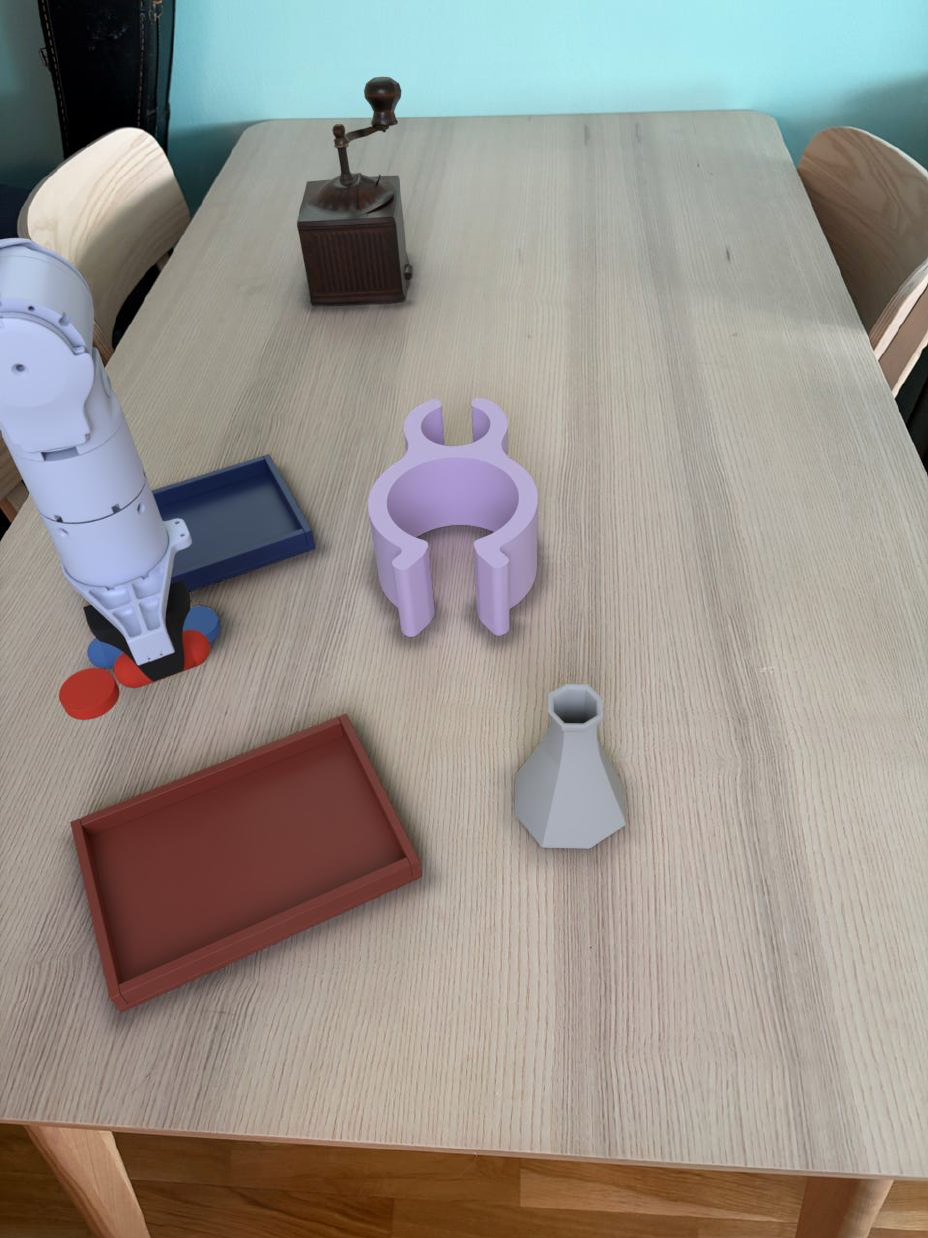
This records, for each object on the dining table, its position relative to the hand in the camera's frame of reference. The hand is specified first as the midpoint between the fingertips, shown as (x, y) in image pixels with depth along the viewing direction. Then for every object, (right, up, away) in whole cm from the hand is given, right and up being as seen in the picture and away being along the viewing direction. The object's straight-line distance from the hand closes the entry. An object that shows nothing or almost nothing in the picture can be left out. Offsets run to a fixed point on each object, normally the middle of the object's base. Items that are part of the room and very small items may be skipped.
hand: (161, 657), depth 61 cm
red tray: (+6, -12, -1) cm, 13 cm away
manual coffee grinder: (+8, +42, +49) cm, 65 cm away
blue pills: (-4, 0, +11) cm, 12 cm away
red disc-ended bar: (-2, -2, +1) cm, 2 cm away
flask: (+26, -9, +1) cm, 27 cm away
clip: (+18, +8, +18) cm, 27 cm away
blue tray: (-3, +9, +19) cm, 21 cm away
